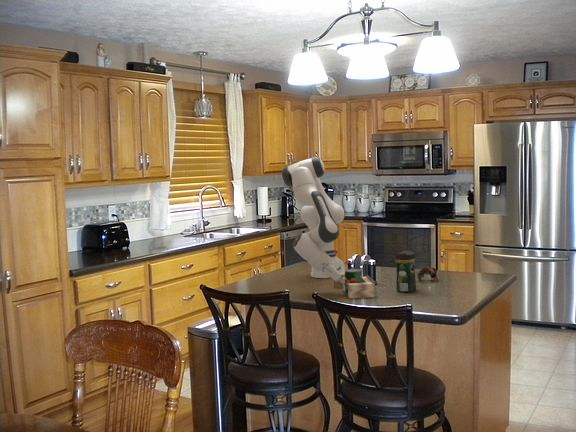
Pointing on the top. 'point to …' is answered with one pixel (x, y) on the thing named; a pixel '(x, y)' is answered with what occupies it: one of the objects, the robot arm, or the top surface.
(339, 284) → the walnut block
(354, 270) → the canned tomato
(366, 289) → the holder
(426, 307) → the top surface
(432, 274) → the brown arched piece
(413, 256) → the coffee jar
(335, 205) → the robot arm
